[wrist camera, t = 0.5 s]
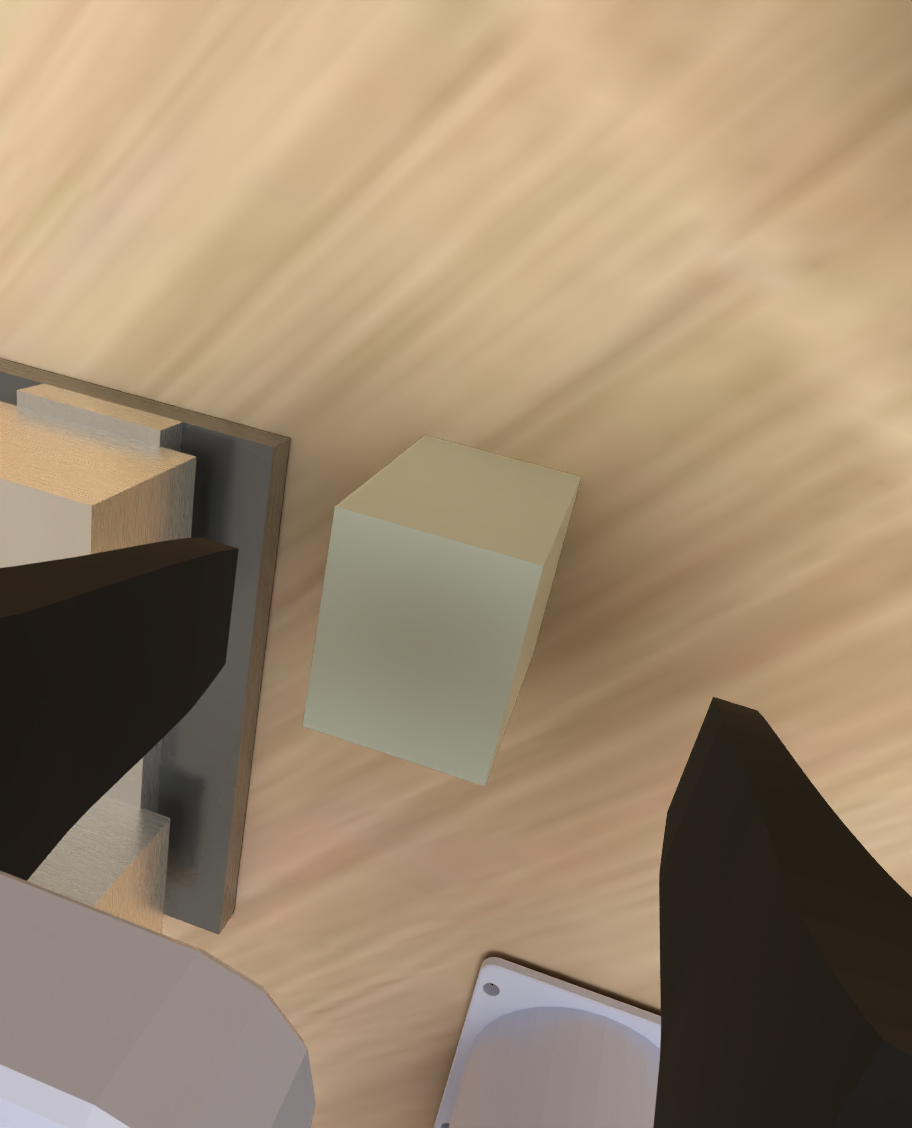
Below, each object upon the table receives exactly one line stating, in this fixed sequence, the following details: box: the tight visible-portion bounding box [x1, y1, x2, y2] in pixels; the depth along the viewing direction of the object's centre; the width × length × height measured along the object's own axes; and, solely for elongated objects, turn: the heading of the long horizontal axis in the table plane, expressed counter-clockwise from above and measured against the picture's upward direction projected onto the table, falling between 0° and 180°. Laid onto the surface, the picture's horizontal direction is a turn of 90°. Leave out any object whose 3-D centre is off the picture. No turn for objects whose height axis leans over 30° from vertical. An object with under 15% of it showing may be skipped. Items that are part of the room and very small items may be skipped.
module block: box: [303, 435, 581, 786], centre depth 19 cm, size 5×4×6 cm
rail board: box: [0, 358, 290, 934], centre depth 23 cm, size 17×9×6 cm, turn 168°
